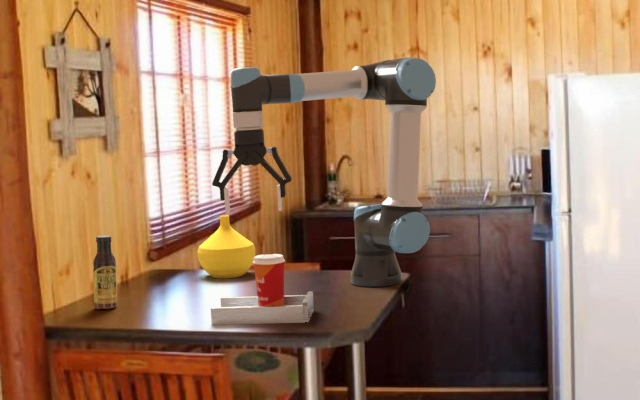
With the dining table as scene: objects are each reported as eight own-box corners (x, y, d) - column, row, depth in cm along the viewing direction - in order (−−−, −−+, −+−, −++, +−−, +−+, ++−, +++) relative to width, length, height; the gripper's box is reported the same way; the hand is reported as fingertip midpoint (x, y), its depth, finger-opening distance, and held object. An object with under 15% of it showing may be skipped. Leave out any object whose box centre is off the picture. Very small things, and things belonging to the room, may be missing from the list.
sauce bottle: (97, 311, 253) (92, 238, 251) (92, 307, 259) (87, 236, 257) (121, 308, 256) (116, 236, 254) (115, 304, 262) (110, 233, 260)
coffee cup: (255, 312, 241) (251, 254, 239) (287, 310, 242) (284, 252, 240) (255, 319, 233) (252, 259, 231) (288, 317, 233) (285, 257, 232)
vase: (225, 268, 313) (222, 211, 311) (268, 272, 302) (265, 213, 300) (186, 278, 298) (183, 218, 296) (230, 282, 287) (227, 220, 285)
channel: (313, 310, 243) (312, 291, 242) (308, 322, 230) (307, 302, 229) (222, 312, 245) (221, 293, 245) (211, 324, 232) (210, 304, 231)
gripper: (298, 125, 242) (303, 207, 244) (202, 131, 244) (208, 212, 246) (296, 126, 235) (301, 211, 237) (197, 132, 236) (203, 216, 238)
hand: (254, 211), depth 241 cm, fingers open, 13 cm apart
